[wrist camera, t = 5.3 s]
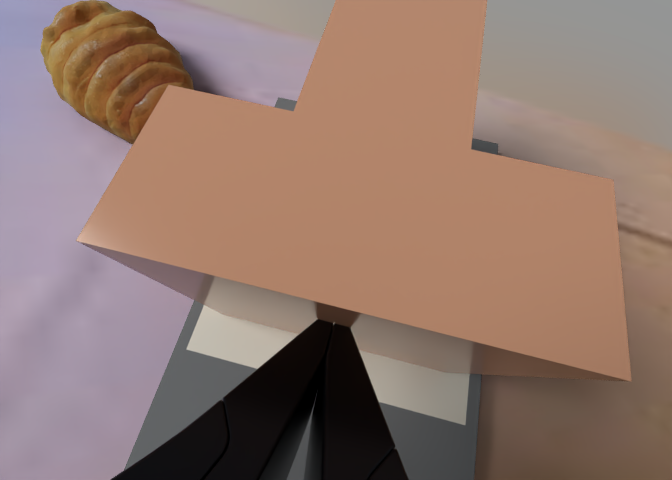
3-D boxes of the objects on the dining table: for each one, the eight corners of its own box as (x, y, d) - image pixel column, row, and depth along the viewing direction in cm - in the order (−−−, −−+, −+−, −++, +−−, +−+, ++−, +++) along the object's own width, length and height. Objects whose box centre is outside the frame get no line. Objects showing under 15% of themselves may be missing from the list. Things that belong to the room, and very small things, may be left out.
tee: (445, 372, 14) (631, 381, 5) (222, 314, 14) (76, 240, 6) (470, 148, 18) (593, -41, 10) (298, 111, 19) (275, -96, 10)
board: (450, 695, 11) (457, 714, 10) (87, 576, 11) (75, 587, 11) (493, 150, 19) (498, 143, 18) (279, 105, 20) (278, 97, 19)
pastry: (236, 115, 20) (215, 59, 16) (139, 182, 18) (92, 136, 14) (148, 37, 22) (113, -27, 18) (55, 90, 20) (-5, 30, 16)
